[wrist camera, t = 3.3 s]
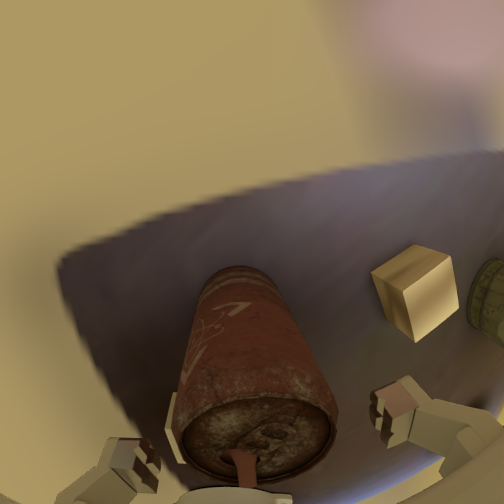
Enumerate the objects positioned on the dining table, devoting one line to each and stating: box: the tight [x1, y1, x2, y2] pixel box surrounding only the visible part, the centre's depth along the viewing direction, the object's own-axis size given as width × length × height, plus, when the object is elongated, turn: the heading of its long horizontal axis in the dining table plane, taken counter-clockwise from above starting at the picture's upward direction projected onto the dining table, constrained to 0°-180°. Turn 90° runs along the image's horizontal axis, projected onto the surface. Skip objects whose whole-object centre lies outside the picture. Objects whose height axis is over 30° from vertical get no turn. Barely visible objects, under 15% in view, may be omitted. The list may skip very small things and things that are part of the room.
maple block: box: [371, 244, 459, 343], centre depth 20 cm, size 5×5×5 cm
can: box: [171, 266, 339, 488], centre depth 14 cm, size 6×6×14 cm
